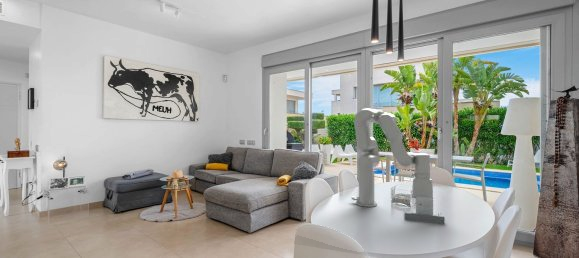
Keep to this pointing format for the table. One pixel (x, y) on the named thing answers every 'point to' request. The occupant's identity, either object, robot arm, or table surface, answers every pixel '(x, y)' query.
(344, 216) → the table surface
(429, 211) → the small box
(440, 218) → the charging dock
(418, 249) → the table surface
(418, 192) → the robot arm
